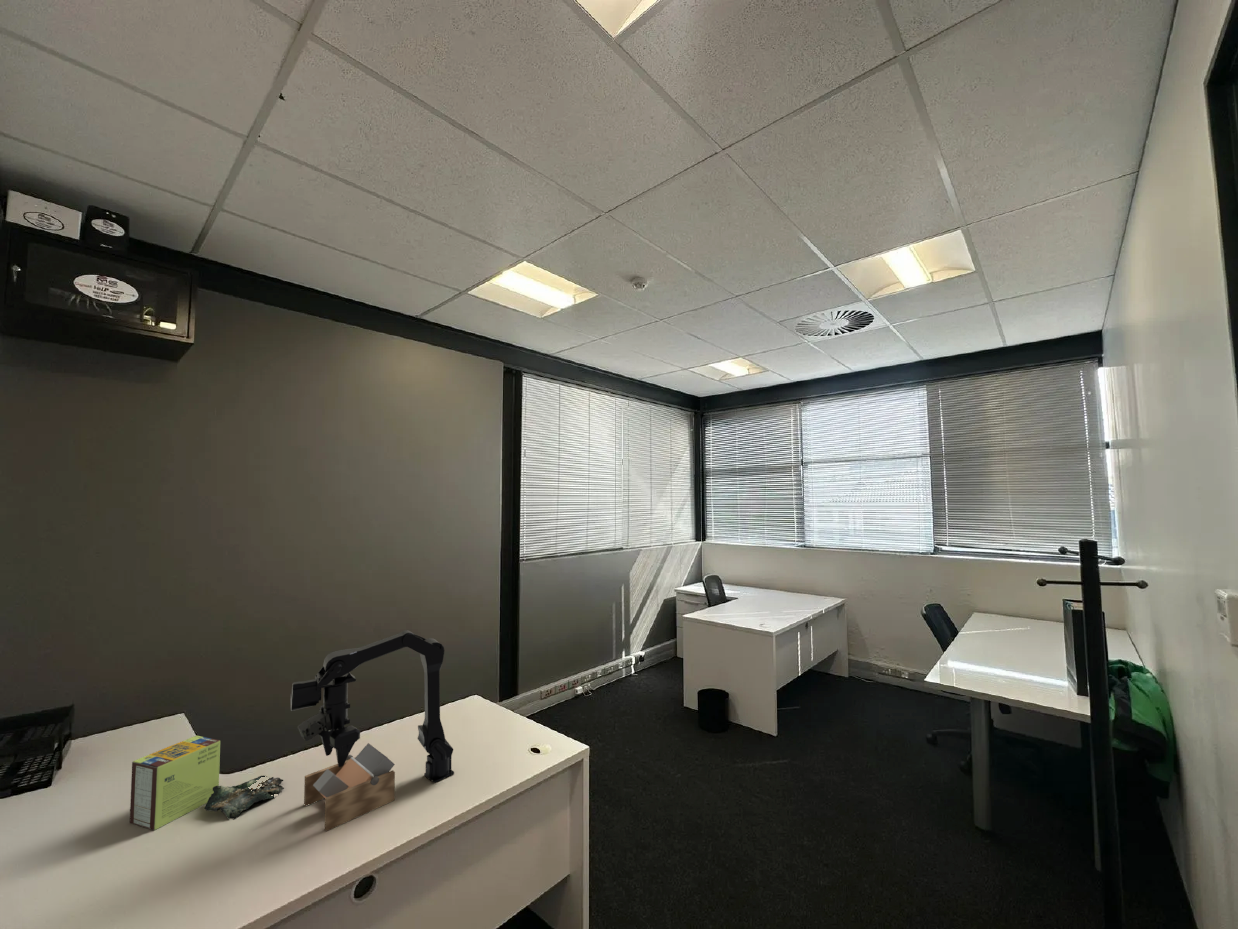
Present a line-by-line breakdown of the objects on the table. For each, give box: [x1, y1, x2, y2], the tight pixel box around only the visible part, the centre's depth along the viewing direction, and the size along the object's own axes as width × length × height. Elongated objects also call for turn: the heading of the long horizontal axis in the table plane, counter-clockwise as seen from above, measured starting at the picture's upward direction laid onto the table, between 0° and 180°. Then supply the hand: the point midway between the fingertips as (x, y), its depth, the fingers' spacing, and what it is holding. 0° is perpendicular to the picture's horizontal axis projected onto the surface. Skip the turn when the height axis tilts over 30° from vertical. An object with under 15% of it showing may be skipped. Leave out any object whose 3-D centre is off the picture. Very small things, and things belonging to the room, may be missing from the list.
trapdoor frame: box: [303, 754, 396, 832], centre depth 138 cm, size 17×18×8 cm
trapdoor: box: [320, 742, 396, 798], centre depth 140 cm, size 15×14×4 cm
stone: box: [313, 769, 349, 797], centre depth 135 cm, size 4×4×6 cm
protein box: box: [129, 735, 221, 831], centre depth 137 cm, size 10×15×16 cm
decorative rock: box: [204, 775, 285, 821], centre depth 141 cm, size 19×6×15 cm
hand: (334, 760), depth 136 cm, fingers open, 9 cm apart
